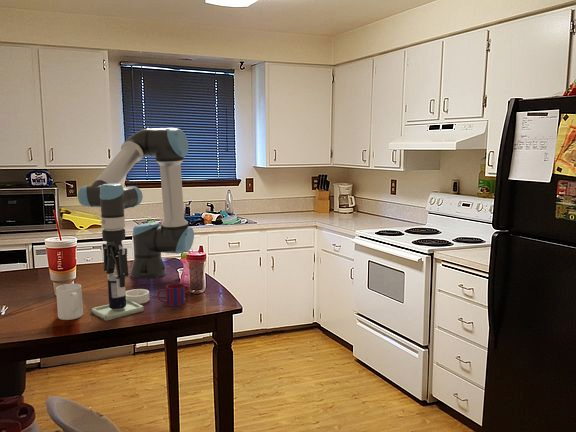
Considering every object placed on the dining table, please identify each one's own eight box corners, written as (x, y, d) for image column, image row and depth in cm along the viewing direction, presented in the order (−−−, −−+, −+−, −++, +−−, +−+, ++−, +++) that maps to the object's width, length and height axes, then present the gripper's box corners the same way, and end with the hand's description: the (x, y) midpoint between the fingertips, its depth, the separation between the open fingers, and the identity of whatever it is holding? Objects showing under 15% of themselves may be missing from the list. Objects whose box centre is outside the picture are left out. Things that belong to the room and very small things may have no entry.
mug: (55, 315, 176) (53, 286, 174) (78, 310, 181) (77, 282, 179) (65, 325, 166) (63, 294, 165) (90, 320, 171) (88, 290, 170)
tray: (128, 303, 188) (128, 299, 188) (143, 310, 181) (143, 306, 180) (91, 312, 179) (91, 308, 178) (105, 320, 171) (105, 316, 171)
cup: (186, 305, 187) (186, 287, 186) (158, 308, 183) (158, 290, 182) (183, 300, 193) (182, 282, 192) (156, 303, 189) (155, 285, 188)
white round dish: (141, 295, 199) (141, 287, 198) (154, 300, 192) (153, 292, 192) (119, 300, 192) (118, 292, 192) (131, 306, 186) (130, 298, 185)
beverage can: (129, 306, 182) (127, 273, 180) (121, 311, 176) (119, 278, 174) (114, 305, 183) (113, 273, 181) (106, 310, 177) (104, 277, 175)
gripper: (90, 226, 179) (94, 290, 183) (116, 233, 166) (119, 302, 169) (111, 224, 184) (114, 285, 188) (137, 231, 171) (140, 297, 175)
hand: (117, 293), depth 179 cm, fingers open, 6 cm apart
